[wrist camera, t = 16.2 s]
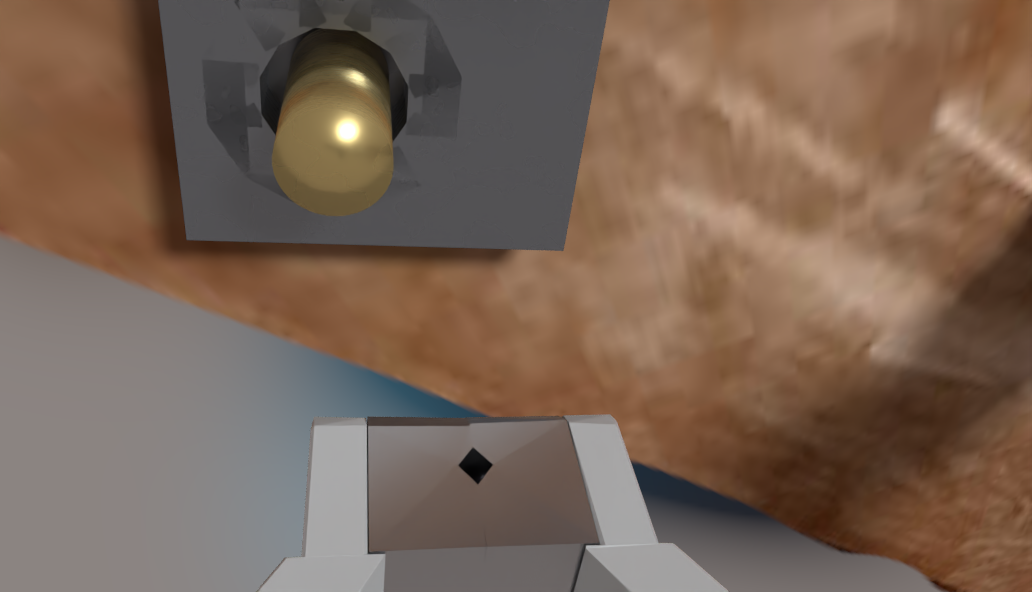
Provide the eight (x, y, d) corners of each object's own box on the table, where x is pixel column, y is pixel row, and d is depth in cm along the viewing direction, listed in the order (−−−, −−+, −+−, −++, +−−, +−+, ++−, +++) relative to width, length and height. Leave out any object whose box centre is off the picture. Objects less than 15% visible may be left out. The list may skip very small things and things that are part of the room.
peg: (393, 33, 34) (399, 116, 28) (384, 124, 36) (387, 221, 30) (291, 19, 33) (273, 101, 27) (287, 114, 36) (270, 210, 29)
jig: (595, -79, 34) (619, -53, 30) (548, 205, 41) (563, 250, 38) (169, -123, 31) (146, -99, 28) (201, 192, 38) (186, 240, 35)
